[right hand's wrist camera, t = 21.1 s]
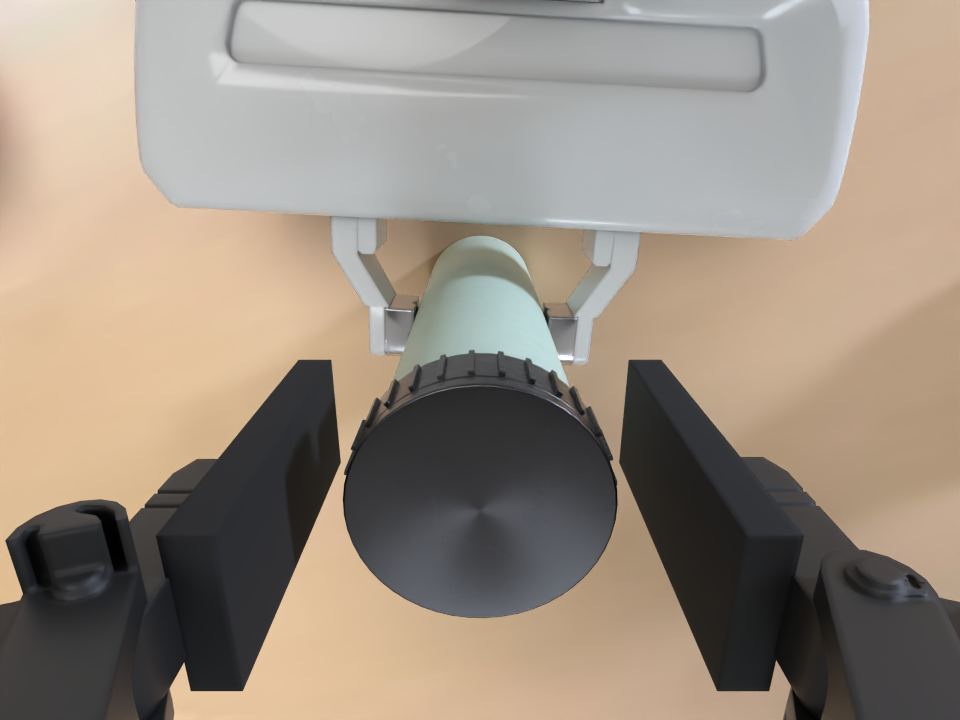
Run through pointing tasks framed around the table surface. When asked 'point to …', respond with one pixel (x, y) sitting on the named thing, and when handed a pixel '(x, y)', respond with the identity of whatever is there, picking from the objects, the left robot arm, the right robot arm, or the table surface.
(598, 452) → the lid
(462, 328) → the jar
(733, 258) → the table surface
